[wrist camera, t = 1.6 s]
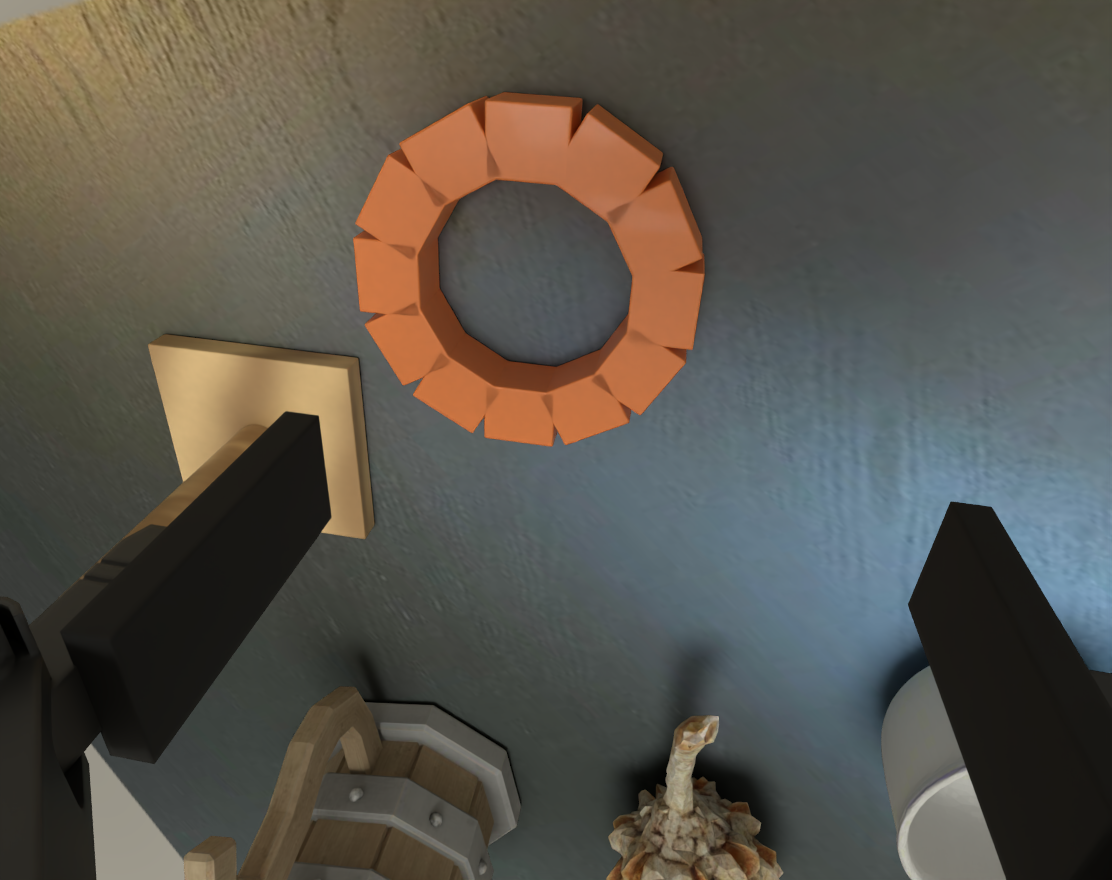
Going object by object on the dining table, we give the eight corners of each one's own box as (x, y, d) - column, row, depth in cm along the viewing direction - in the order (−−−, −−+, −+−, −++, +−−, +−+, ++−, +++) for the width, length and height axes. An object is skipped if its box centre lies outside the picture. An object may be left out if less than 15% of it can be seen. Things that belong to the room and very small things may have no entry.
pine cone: (786, 887, 45) (806, 1089, 37) (633, 878, 48) (619, 1065, 39) (768, 626, 35) (791, 824, 26) (573, 630, 37) (536, 813, 29)
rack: (358, 357, 31) (189, 532, 21) (375, 524, 36) (243, 735, 25) (164, 333, 32) (-90, 488, 22) (204, 499, 37) (11, 691, 26)
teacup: (851, 757, 38) (884, 919, 32) (876, 603, 33) (923, 757, 26) (1151, 781, 36) (1257, 963, 29) (1232, 618, 30) (1386, 793, 24)
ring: (727, 108, 24) (730, 118, 22) (675, 433, 30) (674, 463, 28) (367, 81, 25) (338, 87, 23) (390, 396, 32) (369, 423, 30)
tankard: (531, 838, 47) (469, 1145, 34) (353, 824, 50) (234, 1103, 37) (469, 606, 37) (351, 913, 25) (251, 604, 40) (45, 880, 28)
